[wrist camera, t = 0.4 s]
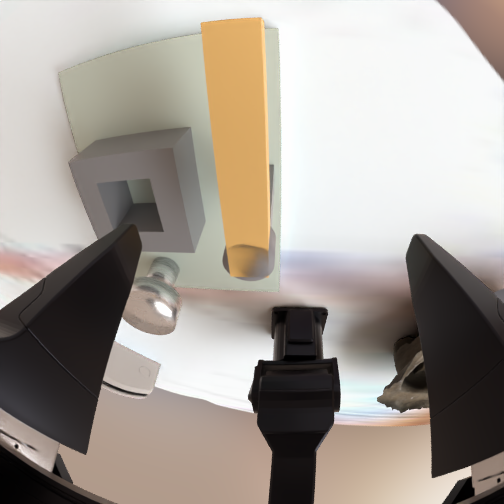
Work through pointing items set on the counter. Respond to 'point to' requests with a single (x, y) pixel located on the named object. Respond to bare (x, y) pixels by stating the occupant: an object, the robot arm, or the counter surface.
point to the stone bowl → (407, 378)
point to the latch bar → (241, 142)
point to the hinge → (129, 373)
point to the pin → (155, 299)
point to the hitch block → (162, 155)
